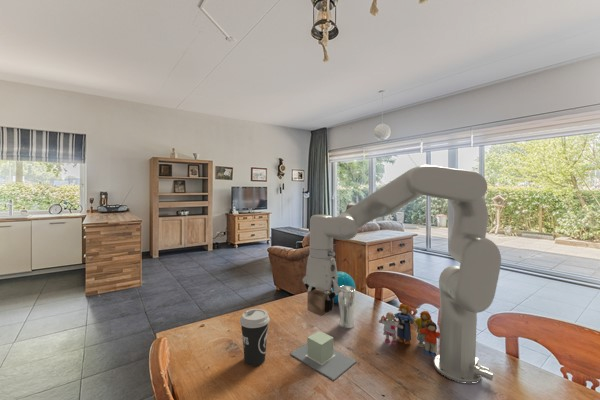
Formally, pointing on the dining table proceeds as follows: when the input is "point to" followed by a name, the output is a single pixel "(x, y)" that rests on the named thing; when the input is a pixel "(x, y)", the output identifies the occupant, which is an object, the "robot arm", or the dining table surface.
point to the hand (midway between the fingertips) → (320, 307)
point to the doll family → (423, 325)
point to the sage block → (320, 346)
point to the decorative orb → (343, 282)
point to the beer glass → (347, 306)
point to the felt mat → (326, 362)
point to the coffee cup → (254, 335)
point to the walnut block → (317, 302)
